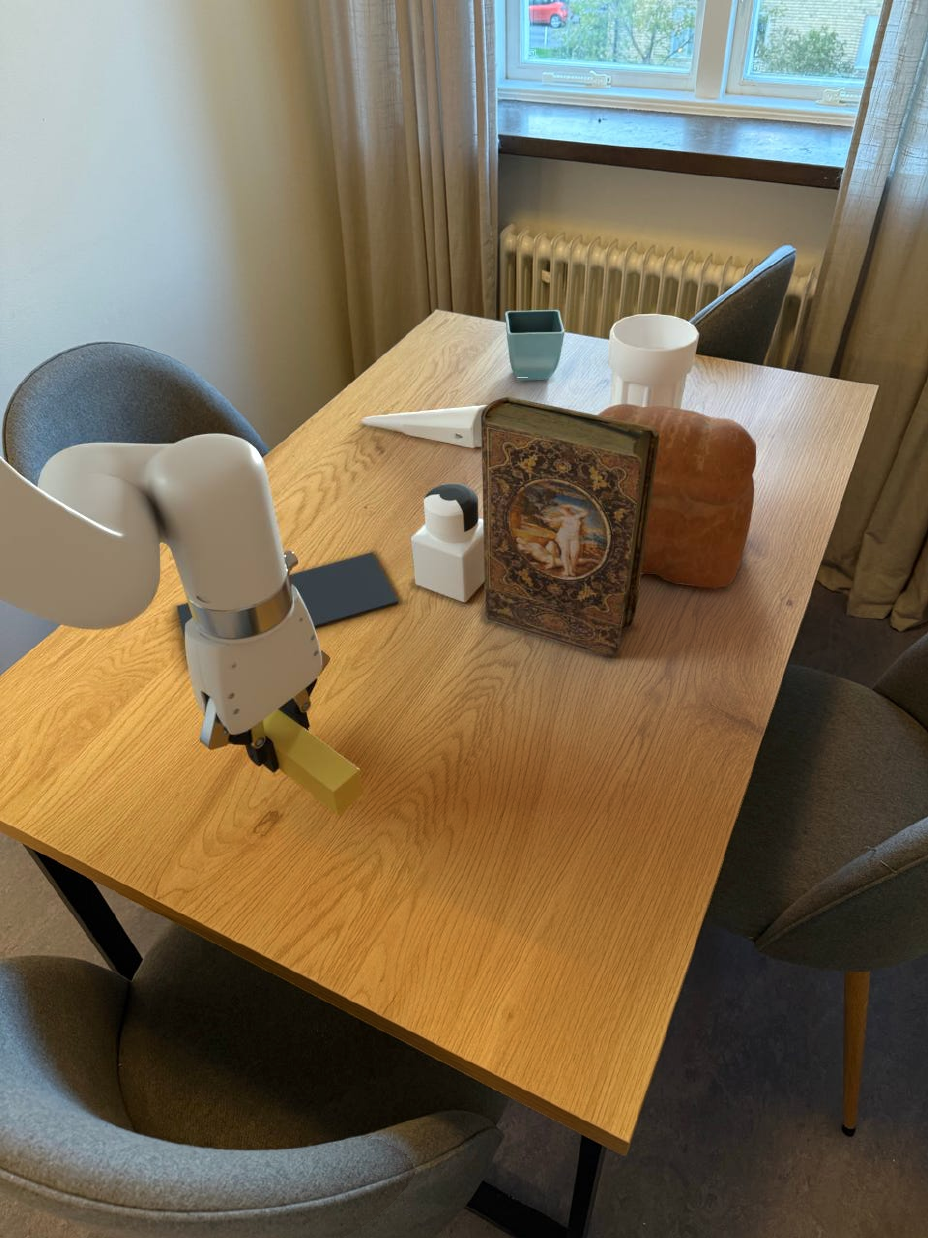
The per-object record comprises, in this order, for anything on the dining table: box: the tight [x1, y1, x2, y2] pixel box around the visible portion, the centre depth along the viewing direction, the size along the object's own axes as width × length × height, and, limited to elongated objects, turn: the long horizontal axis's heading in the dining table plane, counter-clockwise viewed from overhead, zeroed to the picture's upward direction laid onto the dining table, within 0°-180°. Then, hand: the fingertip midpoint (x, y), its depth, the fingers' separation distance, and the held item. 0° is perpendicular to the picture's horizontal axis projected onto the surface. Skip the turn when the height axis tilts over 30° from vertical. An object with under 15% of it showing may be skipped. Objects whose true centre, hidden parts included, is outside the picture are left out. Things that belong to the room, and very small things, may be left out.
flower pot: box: [504, 309, 565, 382], centre depth 134 cm, size 9×9×9 cm
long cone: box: [361, 404, 488, 449], centre depth 124 cm, size 6×6×19 cm
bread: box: [597, 404, 757, 589], centre depth 97 cm, size 18×21×17 cm
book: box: [481, 396, 659, 658], centre depth 85 cm, size 16×6×25 cm, turn 64°
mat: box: [176, 552, 399, 641], centre depth 97 cm, size 24×10×1 cm, turn 112°
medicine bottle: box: [410, 482, 485, 603], centre depth 96 cm, size 7×7×12 cm
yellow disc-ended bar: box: [202, 709, 365, 817], centre depth 74 cm, size 18×6×4 cm, turn 49°
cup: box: [607, 313, 700, 409], centre depth 113 cm, size 11×11×17 cm
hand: (281, 748), depth 75 cm, fingers closed on yellow disc-ended bar, 3 cm apart
